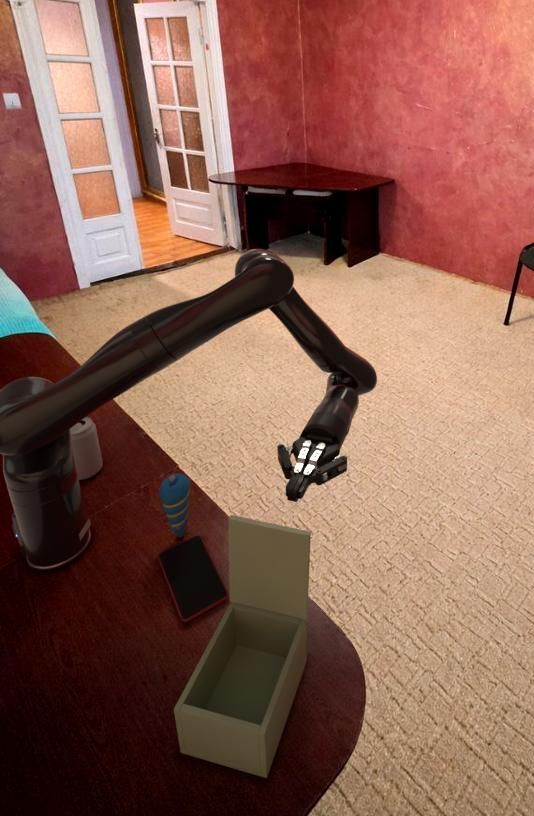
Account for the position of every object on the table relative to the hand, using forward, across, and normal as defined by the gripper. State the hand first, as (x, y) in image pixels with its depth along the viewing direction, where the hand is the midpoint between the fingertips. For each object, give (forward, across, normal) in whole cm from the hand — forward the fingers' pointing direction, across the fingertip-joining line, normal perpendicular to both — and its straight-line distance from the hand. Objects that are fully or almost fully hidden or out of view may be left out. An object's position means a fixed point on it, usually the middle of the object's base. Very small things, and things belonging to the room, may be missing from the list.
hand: (291, 497), depth 73 cm
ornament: (-6, -25, +21) cm, 33 cm away
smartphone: (+1, -18, +21) cm, 28 cm away
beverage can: (-16, -54, +21) cm, 60 cm away
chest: (+16, 0, +21) cm, 26 cm away
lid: (+9, 0, +5) cm, 10 cm away
